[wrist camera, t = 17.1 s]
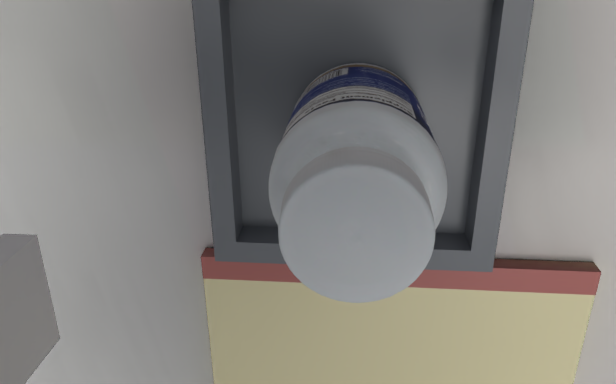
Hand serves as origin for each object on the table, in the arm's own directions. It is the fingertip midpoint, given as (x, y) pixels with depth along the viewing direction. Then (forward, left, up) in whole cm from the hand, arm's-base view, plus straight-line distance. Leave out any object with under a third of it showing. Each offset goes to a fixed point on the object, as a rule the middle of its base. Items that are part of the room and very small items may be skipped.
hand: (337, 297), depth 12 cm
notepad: (+2, -13, -12) cm, 18 cm away
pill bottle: (0, 0, -12) cm, 12 cm away
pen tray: (0, 0, -12) cm, 12 cm away
